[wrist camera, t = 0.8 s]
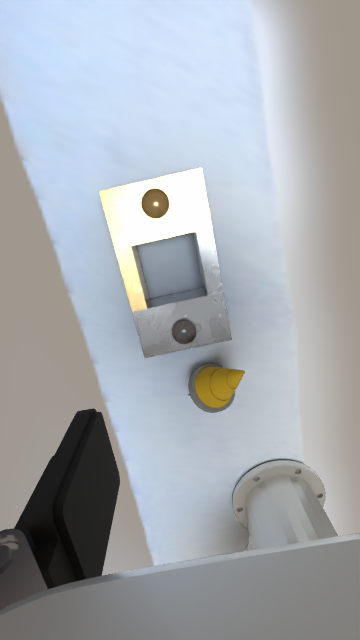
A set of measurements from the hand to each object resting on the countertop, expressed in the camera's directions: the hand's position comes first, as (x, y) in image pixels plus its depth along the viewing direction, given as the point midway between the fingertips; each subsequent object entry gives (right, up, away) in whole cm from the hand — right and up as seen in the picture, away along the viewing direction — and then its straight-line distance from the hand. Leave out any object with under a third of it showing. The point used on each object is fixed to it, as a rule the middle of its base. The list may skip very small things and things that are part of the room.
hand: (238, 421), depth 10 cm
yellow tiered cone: (+2, -2, +26) cm, 26 cm away
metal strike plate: (-3, +9, +21) cm, 24 cm away
